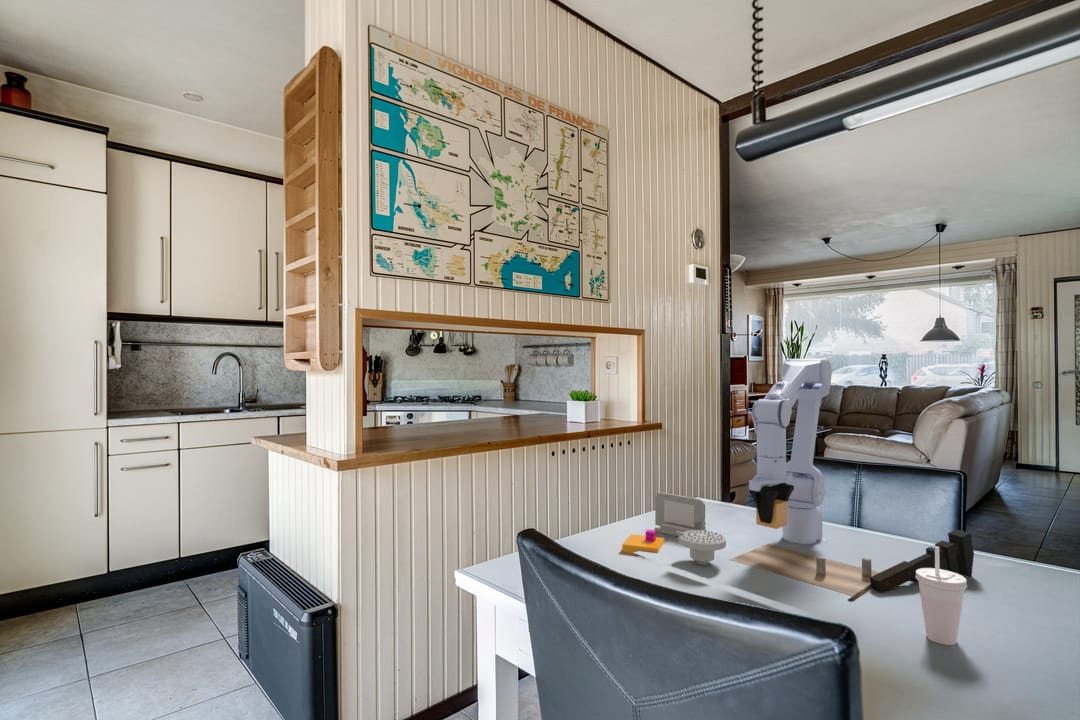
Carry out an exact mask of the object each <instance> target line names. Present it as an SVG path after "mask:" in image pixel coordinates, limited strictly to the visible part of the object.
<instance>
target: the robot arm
mask: <svg viewBox="0 0 1080 720" xmlns="http://www.w3.org/2000/svg"><path fill="white" fill-rule="evenodd" d="M831 364H832V363H831V361H830V360H829V359H828V358H827V357H822V358H791V357H789V358H786V359H785V360H784V361H783V363H782V371H781V372H782V380H781V381H777V382H776V383H774V384H773V385H772V387H771V388H770V389H769V391H768V392H767V393H766V395H765V396H764V398H759V399H758V400H755V402H754V403H753V405H752V409H751V419H752V423H753V430H754V434H756V475H755V476H754V477H753V478H752V479H750V480H749V481H748V492H749V494H750V495H751V497H752V499H753V502H754V504H755V507H757V510H758V514H759V518H760V521H761V522H764V523H769V524H770V523H771V522H772V517H773V508H774V503H775V500H776V499H777V500H783V501H787V525H786V526H783V527H782V539H784V540H785V541H787V542H790V543H795V544H802V545H811V544H816V543H817V541H818V540H819V541H822V542H823V541H824V542H827V539H825V538H823V513H822V510H821V509H820V506H821V505H822V504H823V502H824V500H825V477H824V475H823V473H822V471H821V470H819V469H818V468H817V467H816V466H814V454H815V449H816V448H815V447H816V439H817V431H818V423H819V415H820V408H821V403H822V398H824V397H827V396H828V395H830V390H831V384H832V374H833V373H832V371H833V370H832V365H831ZM797 401H798V402H797ZM796 402H797V410H796V417H795V418H796V419H795V425H794V432H793V439H792V440H793V441H792V446H791V447H792V448H791V456H790V460H789V461H788V462H787V427H788V426H789V425H790V421H791V416H792V413H793V410H792V409H793V406H794V405H795V403H796Z"/></svg>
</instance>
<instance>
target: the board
mask: <svg viewBox="0 0 1080 720" xmlns="http://www.w3.org/2000/svg"><path fill="white" fill-rule="evenodd" d="M729 561H732V562H736V563H740V564H742V565H745V566H746V565H747V566H749V567H753V568H757V569H759V570H763V571H765V572H770V573H773V574H776V575H779V576H783V577H786V578H790V579H793V580H797V581H800V582H804V583H807V584H811V585H813V586H817V587H820V588H824V589H828V590H830V591H833V592H838V593H841V594H844V595H848V596H851V597H849V598H848V599H847V601H849V602H855V601H856V600H857V599H859V598H861V597H862V596H863V595H865V594H866V593H868V592H869V591H871V590H873V589H872V587H871V583H870V577H872V576H874V575H876V574H878V573H880V571H876V570H873V569H872V559H871V558H868V557H862V558H861V567H860V566H856V565H853V564H848V563H846V562H842V561H838V560H833V559H829V558H826V557H824V556H819V555H813V554H809V553H807V552H801V551H799V550H794V549H790V548H786V547H782V546H778V545H776V544H770V543H766V544H763V545H761V546H759V547H756V548H754V549H752V550H749V551H747V552H744V553H742V554H740V555H737V556H735V557H733V558H730V559H729Z"/></svg>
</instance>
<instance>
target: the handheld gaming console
mask: <svg viewBox="0 0 1080 720" xmlns="http://www.w3.org/2000/svg"><path fill="white" fill-rule="evenodd" d="M654 498H655V500H654V501H655V502H654V504H655V507H654V511H655V513H654V517H655V519H654V523H655V526H658V527H654V529H653V530H655V531H656V533H659V532H660V534H663V533H665V535H668V534H669V535H668V536H672V535H673V536H674V537H676V536H677V538H679V535H678V534H676V531H680V532H684V531H689V530H694V529H695V530H703V531H705V530H707V527H706V524H707V523H706V504H705V502H704V500H702V499H701V498H696V497H691V496H684V495H679V494H673V493H667V492H659V493H657V494H655V497H654ZM673 536H672V537H673Z"/></svg>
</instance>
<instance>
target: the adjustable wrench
mask: <svg viewBox="0 0 1080 720" xmlns="http://www.w3.org/2000/svg"><path fill="white" fill-rule="evenodd" d="M947 536H948V541H946V540H941V541H938V542H936V543H935V544H934V547H932V546H929V547H928V546H927V548H925V553H924V554H923V555H920V556H918V557H916V558H914V559H911V560H909V561H906V560H903V561H902V562H900V563H898V564H895V565H893V566H891V567H889V568H887V569H884V570H882V571H881V572H880V571H879V572H880V573H878V574H876V575H874V576H872V577H870V583H871V587H872V589H871V590H873V591H876V592H878V593H880V594H882V593H887V592H889V591H891V590H894V589H896V588H897V587H899V586H901V585H904V584H906V583H908V582H912V583H914V584H917V583H919V581H918V580H917V579H916V570H918V569H921V568H935V546H938V547H939V569H942V570H947V571H951V572H954V573H957V574H959V575H961V574H962V575H961V576H963V575H966V576H968V577H967V578H970V577H969V576H971V577H972V575H973V566H974V558H975V557H974V556H975V551H974V546H973V539H972V533H971V532H968V531H965V530H959V529H954V530H952V531H951V532H950V531H949V532H948V533H947ZM966 576H965V577H966Z"/></svg>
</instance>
